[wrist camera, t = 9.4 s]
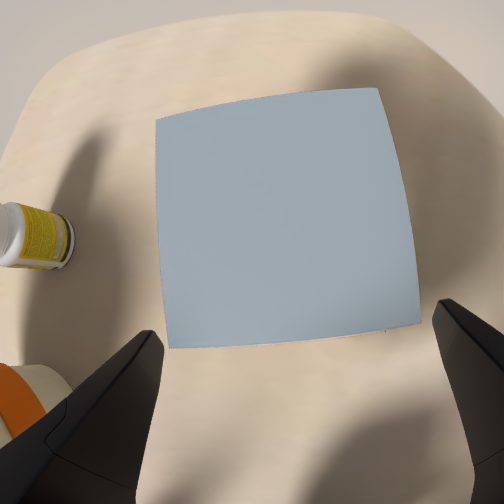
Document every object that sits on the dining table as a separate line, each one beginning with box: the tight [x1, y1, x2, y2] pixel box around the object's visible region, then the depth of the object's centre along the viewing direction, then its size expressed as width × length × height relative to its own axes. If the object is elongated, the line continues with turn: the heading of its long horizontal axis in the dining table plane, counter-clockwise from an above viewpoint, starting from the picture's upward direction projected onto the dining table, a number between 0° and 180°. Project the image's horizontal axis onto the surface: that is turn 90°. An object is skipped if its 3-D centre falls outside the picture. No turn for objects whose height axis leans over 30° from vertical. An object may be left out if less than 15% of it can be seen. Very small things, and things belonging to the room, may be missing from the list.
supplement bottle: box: [0, 202, 74, 270], centre depth 19 cm, size 5×5×8 cm
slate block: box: [156, 88, 421, 348], centre depth 12 cm, size 5×5×12 cm
